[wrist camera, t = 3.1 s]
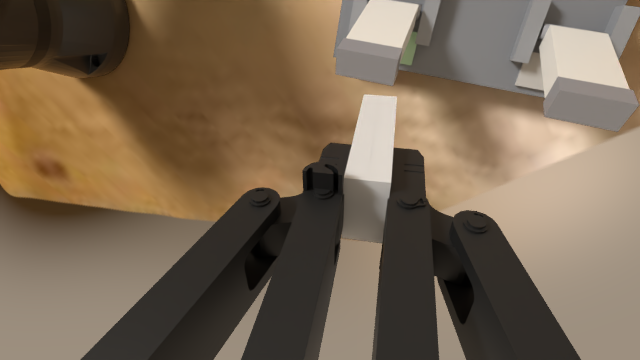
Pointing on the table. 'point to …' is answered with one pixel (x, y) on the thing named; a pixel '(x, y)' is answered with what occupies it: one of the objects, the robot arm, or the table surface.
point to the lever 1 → (377, 41)
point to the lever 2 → (583, 78)
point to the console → (495, 37)
